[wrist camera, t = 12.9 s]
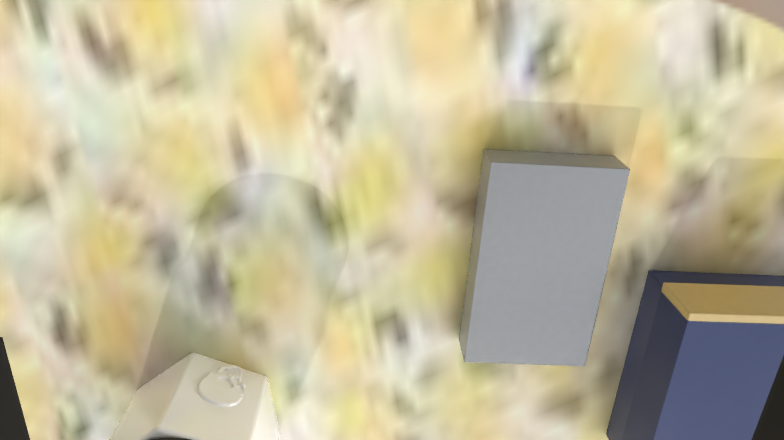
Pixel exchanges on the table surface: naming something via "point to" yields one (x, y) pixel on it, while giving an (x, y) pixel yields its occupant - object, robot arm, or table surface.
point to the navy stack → (645, 324)
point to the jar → (201, 404)
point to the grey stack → (539, 255)
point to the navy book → (708, 362)
